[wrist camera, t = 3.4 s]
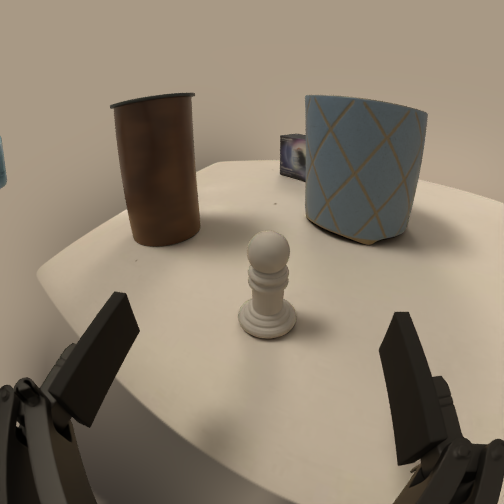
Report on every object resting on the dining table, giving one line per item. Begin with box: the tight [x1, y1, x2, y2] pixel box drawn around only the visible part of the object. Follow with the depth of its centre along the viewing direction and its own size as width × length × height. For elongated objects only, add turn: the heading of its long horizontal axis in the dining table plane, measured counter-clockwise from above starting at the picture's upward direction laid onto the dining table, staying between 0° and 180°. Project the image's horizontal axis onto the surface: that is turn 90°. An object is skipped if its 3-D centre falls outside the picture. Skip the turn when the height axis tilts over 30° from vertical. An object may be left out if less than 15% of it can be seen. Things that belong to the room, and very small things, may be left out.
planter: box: [305, 95, 428, 245], centre depth 39 cm, size 19×19×20 cm
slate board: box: [110, 93, 195, 109], centre depth 32 cm, size 12×12×1 cm
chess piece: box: [238, 231, 296, 338], centre depth 23 cm, size 5×5×9 cm
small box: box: [280, 134, 306, 181], centre depth 65 cm, size 11×6×10 cm, turn 41°
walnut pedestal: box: [114, 96, 201, 246], centre depth 37 cm, size 11×11×20 cm
